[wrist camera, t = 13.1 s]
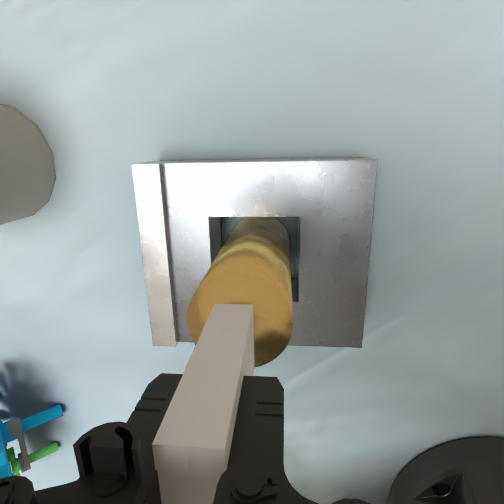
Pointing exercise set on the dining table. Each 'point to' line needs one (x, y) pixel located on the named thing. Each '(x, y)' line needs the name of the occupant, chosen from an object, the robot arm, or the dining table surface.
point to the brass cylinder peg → (251, 284)
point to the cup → (23, 166)
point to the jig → (259, 205)
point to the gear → (23, 441)
